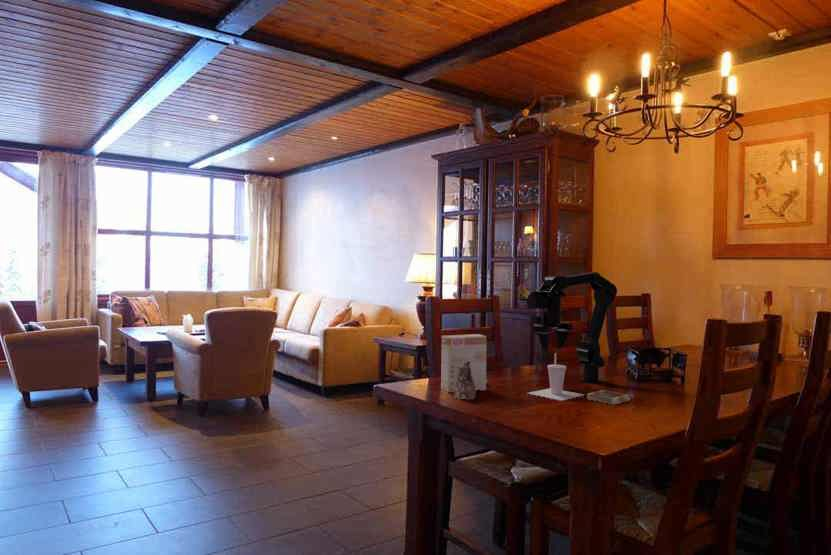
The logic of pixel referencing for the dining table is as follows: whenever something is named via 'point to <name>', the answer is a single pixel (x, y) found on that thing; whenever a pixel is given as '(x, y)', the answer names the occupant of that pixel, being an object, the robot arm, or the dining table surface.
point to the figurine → (464, 382)
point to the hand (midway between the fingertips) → (552, 350)
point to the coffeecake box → (463, 359)
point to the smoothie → (556, 378)
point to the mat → (562, 397)
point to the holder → (608, 397)
